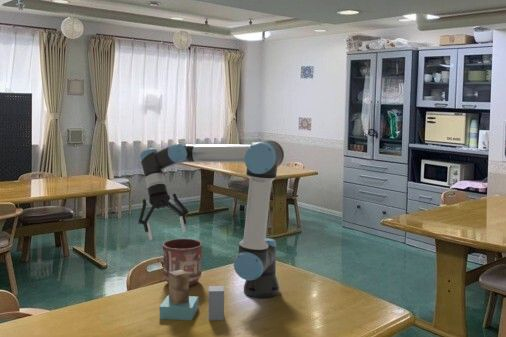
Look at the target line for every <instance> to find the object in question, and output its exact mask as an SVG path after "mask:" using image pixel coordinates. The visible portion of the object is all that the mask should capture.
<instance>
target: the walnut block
mask: <svg viewBox="0 0 506 337" xmlns="http://www.w3.org/2000/svg"><path fill="white" fill-rule="evenodd" d="M168 295H169V301H171V302H172V303H174V304H176V305H177V304H181V303H186V302H189V296H190V286H189V273H188V272H185V271H183V270H177V271H172V272H169V283H168Z"/></svg>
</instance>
